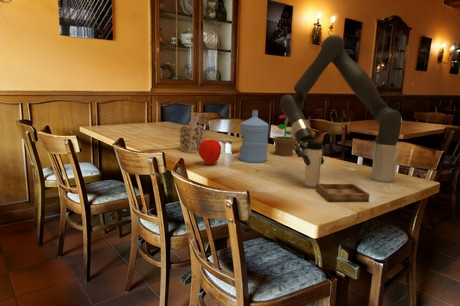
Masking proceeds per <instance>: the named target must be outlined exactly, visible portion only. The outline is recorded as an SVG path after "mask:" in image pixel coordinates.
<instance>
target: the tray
mask: <svg viewBox="0 0 460 306" xmlns="http://www.w3.org/2000/svg"><path fill="white" fill-rule="evenodd" d="M315 192H317V193H318V194H319V195H320V196H321V197H322V198H323V199H325V201H326V202H328V203H345V202H346V203H359V202H360V203H363V202H364V203H368V202H369V201H370V193H369V192H367V191H365V190H364V189H362V188H361V187H359V186H358V185H356V184H355V183H319V184H316V188H315Z"/></svg>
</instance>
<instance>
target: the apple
mask: <svg viewBox="0 0 460 306" xmlns="http://www.w3.org/2000/svg"><path fill="white" fill-rule="evenodd" d="M221 145H222V144H221V143H220V142H219V141H218V140H216V139H205V140H204V141H202V142H201V144H200V146H199V152H198V154H199V157H200V158H201V160H202V161H203V162H204V163H205V164H206V165H208V166H209V165H211V166H213V164H214V165H215V164H216V163H217V162H218V161H219V158H221V157H220V156H221V154H222V146H221Z"/></svg>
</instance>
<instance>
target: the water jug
mask: <svg viewBox="0 0 460 306" xmlns="http://www.w3.org/2000/svg"><path fill="white" fill-rule="evenodd" d="M258 112H259V110H258V109H257V110H255V109H253V110H252V113H251V117H250V118H248V119H247V120H244V121H242V122H241V123H240V129H239V130H240V133H239V134H240V136H241V137H242V141H241V142H242V144H241V145H240V146H239V155H238V156H239V160H240V161H241V162H244V163H250V164H251V163H252V164H258V163H265V162H267V159H268V145H269V142H268V139H269V123H267V122H266V121H265V120H263V119H260V118H259V117H258V116H259V113H258Z"/></svg>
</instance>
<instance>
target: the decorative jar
mask: <svg viewBox="0 0 460 306" xmlns="http://www.w3.org/2000/svg"><path fill="white" fill-rule="evenodd" d="M204 140H207V139H206V130H205V128H204V126H203V125H199V124H197V122H196V121H195V122H194V121H189V122H188V124H184V125H182V126H181V128H180V129H179V150H180V151H181V152H185V153H187V152H188V154H196V152H198V153H199V146H200V144H201V142H202V141H204Z"/></svg>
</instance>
